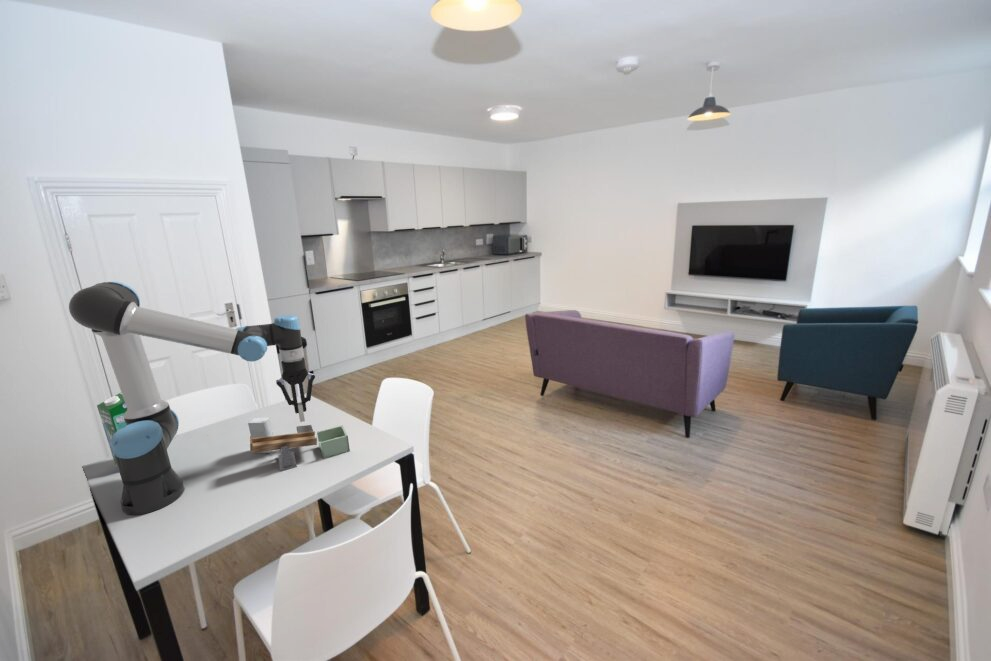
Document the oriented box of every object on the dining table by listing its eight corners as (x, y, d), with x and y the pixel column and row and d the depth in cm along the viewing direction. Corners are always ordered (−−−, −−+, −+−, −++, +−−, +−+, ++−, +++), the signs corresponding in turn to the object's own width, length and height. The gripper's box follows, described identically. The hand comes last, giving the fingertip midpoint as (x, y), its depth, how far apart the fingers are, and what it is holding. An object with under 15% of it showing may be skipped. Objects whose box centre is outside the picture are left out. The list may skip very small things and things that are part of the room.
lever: (250, 453, 140) (250, 443, 139) (249, 434, 152) (249, 425, 152) (316, 444, 150) (316, 435, 149) (311, 427, 162) (311, 418, 162)
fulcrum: (280, 471, 143) (276, 449, 141) (278, 457, 152) (274, 436, 150) (296, 466, 146) (292, 445, 144) (293, 452, 155) (290, 432, 152)
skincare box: (276, 447, 159) (270, 417, 156) (269, 453, 155) (263, 423, 152) (261, 446, 160) (254, 417, 156) (253, 453, 155) (247, 422, 152)
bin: (323, 458, 150) (320, 443, 148) (319, 446, 158) (316, 431, 156) (349, 450, 154) (347, 435, 153) (344, 439, 162) (342, 425, 161)
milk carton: (114, 464, 152) (94, 398, 145) (144, 451, 160) (126, 389, 153) (127, 470, 148) (107, 403, 141) (157, 457, 155) (139, 393, 149)
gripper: (272, 365, 146) (283, 428, 152) (313, 358, 152) (322, 419, 158) (271, 359, 152) (281, 420, 158) (311, 353, 158) (319, 412, 164)
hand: (302, 420), depth 158 cm, fingers closed
